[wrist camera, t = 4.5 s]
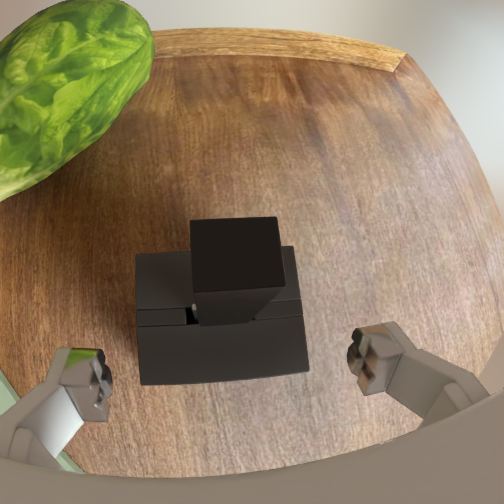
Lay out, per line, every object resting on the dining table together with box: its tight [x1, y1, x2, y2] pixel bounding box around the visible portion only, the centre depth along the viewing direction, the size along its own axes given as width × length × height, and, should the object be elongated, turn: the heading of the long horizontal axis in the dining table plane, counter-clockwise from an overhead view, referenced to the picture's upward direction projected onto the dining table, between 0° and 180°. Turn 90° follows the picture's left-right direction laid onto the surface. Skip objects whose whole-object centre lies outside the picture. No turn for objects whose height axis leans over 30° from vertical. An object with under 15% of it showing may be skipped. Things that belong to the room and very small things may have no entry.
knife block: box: [135, 246, 310, 386], centre depth 22 cm, size 8×10×8 cm
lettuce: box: [0, 0, 155, 202], centre depth 23 cm, size 15×27×16 cm, turn 148°
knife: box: [190, 217, 286, 327], centre depth 17 cm, size 2×3×18 cm, turn 96°
